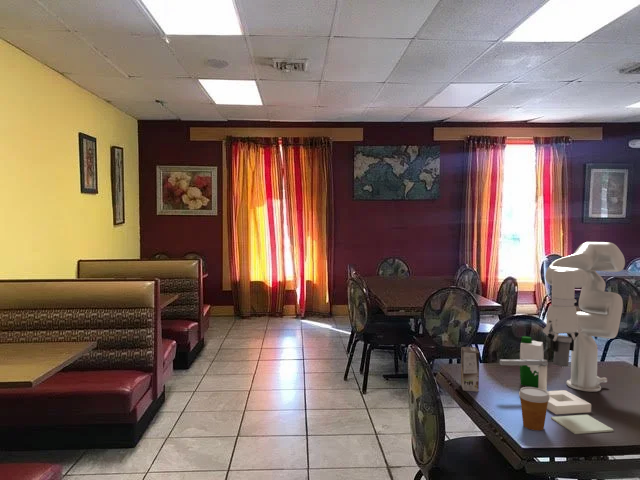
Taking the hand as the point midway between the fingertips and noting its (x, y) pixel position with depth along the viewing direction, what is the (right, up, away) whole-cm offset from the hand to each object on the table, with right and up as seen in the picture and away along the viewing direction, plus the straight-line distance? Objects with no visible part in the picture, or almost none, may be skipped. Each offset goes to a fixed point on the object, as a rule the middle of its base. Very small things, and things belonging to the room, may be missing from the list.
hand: (562, 349), depth 172 cm
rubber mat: (-2, -22, -16) cm, 27 cm away
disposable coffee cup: (-19, -22, -17) cm, 34 cm away
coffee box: (-28, -21, +20) cm, 40 cm away
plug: (-1, -5, 0) cm, 6 cm away
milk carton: (-1, -21, +24) cm, 31 cm away
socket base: (-1, -21, +4) cm, 21 cm away
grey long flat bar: (-9, -9, +11) cm, 17 cm away
